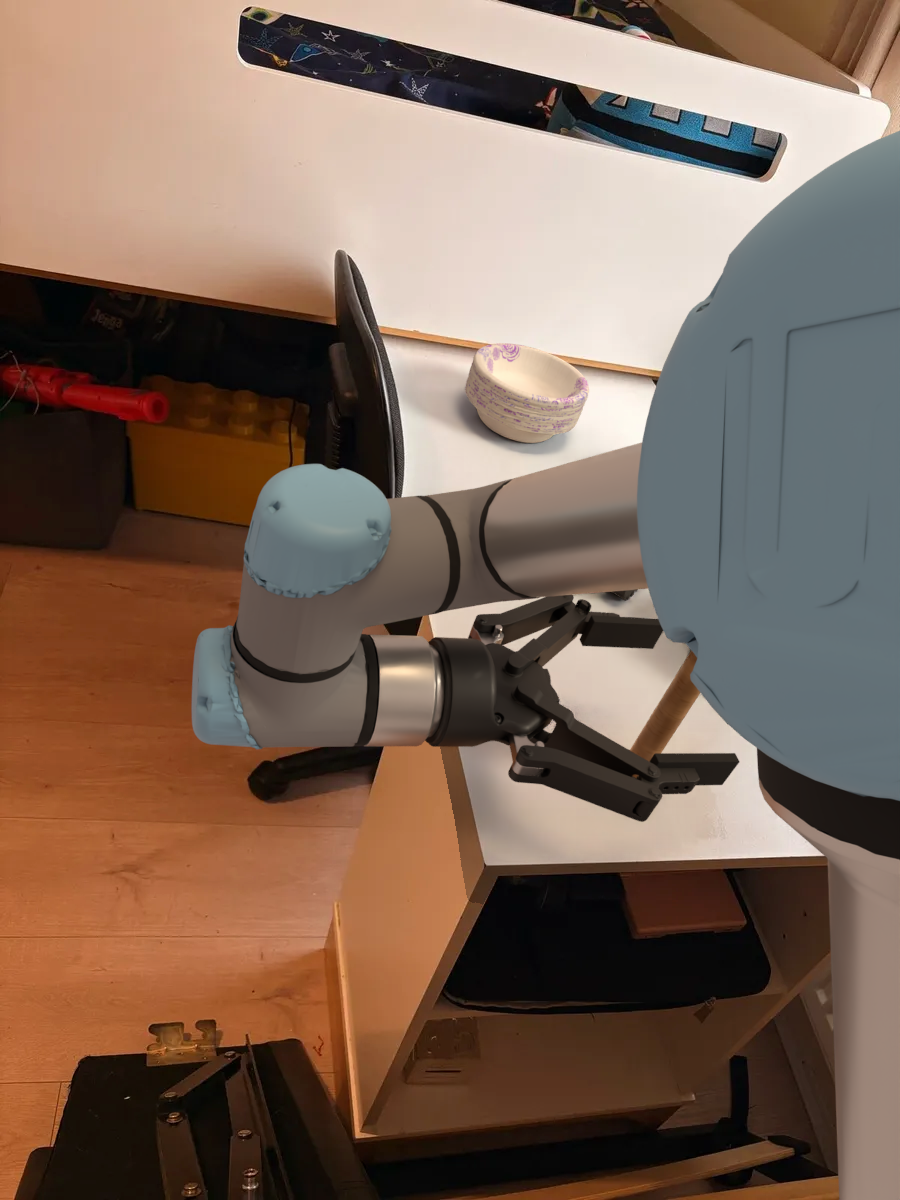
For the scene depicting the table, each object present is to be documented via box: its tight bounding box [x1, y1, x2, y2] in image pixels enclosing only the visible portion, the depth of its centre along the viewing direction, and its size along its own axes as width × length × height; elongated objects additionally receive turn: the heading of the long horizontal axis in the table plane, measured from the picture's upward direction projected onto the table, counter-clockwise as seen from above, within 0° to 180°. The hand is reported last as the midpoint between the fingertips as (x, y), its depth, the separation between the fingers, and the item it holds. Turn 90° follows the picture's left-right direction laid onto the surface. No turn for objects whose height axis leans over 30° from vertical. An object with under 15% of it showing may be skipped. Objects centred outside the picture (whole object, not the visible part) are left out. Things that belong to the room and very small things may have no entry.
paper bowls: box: [464, 342, 590, 444], centre depth 115 cm, size 15×15×8 cm
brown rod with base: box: [627, 649, 701, 778], centre depth 70 cm, size 5×5×18 cm
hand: (691, 696), depth 69 cm, fingers open, 13 cm apart
